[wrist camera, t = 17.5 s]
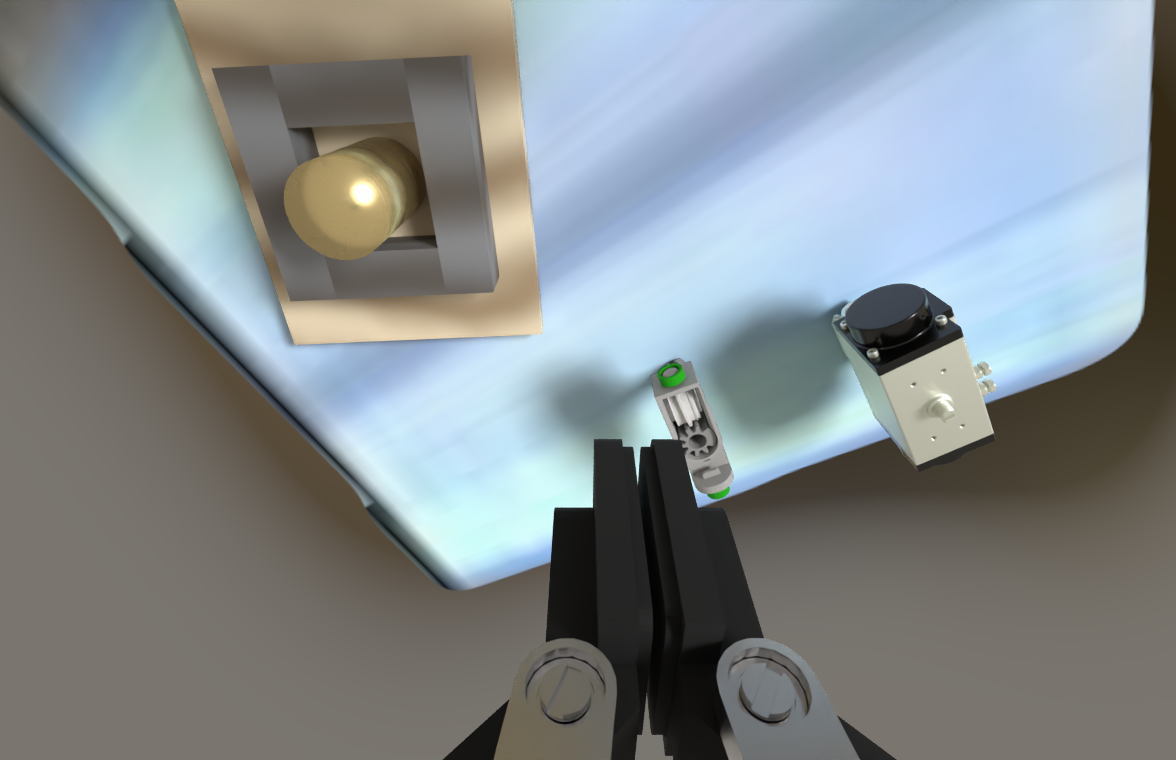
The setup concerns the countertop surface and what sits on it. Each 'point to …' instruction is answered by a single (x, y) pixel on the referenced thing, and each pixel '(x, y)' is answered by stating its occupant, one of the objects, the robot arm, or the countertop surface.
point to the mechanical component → (693, 427)
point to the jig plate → (393, 110)
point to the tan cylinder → (354, 197)
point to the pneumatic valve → (917, 373)
